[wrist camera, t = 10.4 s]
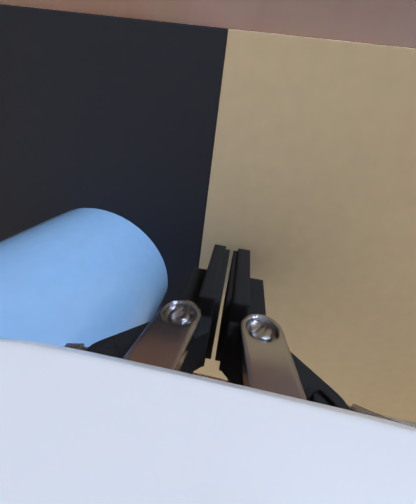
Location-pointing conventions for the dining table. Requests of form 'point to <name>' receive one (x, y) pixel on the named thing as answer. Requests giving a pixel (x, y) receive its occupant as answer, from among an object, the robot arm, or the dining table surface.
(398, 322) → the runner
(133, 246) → the mug
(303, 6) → the dining table surface
